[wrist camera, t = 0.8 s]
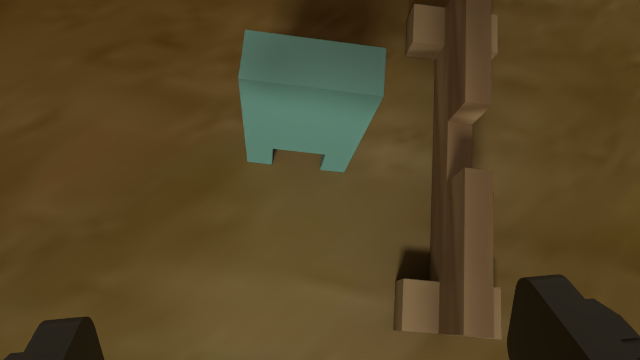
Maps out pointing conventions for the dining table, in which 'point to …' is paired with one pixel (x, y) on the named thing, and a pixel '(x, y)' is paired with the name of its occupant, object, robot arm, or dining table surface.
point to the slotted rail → (455, 177)
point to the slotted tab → (308, 96)
